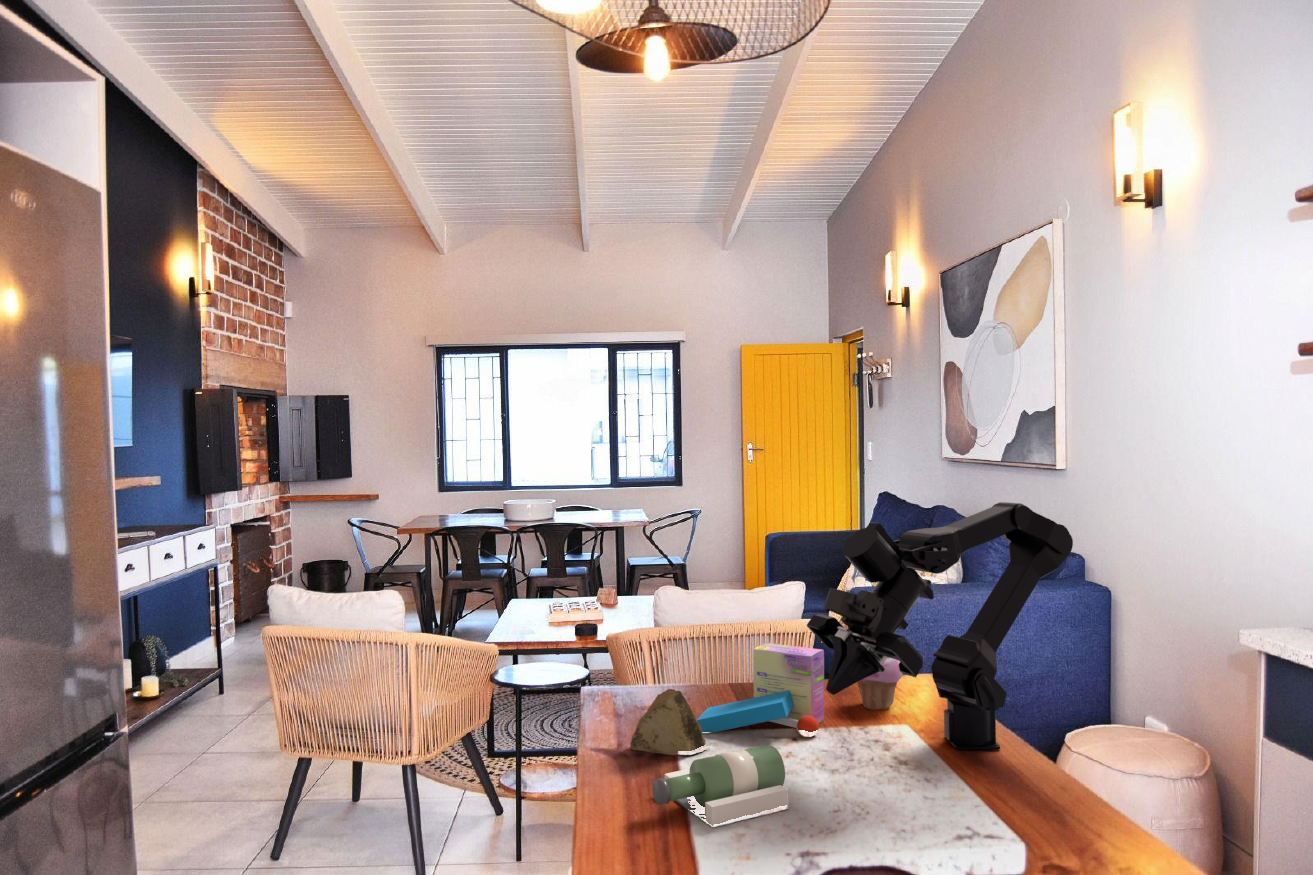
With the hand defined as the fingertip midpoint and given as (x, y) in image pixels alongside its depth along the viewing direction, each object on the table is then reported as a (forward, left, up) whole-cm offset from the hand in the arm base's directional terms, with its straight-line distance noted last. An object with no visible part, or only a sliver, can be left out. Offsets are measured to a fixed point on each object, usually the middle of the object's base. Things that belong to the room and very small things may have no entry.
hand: (829, 692), depth 121 cm
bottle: (+8, +5, -8) cm, 13 cm away
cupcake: (-13, -32, -12) cm, 36 cm away
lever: (+8, -19, -12) cm, 24 cm away
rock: (+23, -11, -12) cm, 28 cm away
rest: (+15, +8, -11) cm, 21 cm away
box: (+3, -25, -12) cm, 28 cm away
